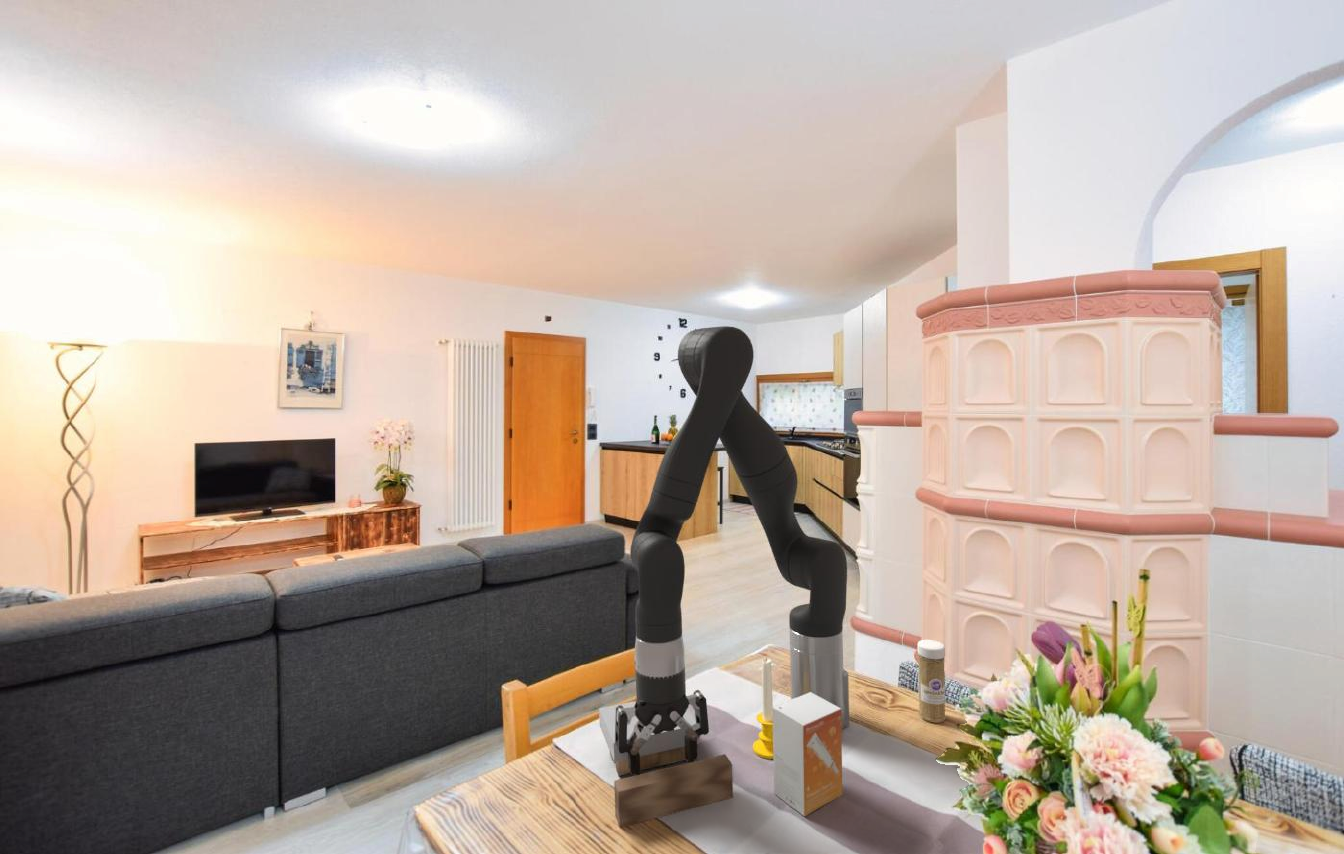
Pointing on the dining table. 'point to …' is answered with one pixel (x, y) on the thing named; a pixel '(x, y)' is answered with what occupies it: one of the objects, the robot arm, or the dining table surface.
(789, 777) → the small box
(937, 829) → the dining table surface
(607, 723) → the slab
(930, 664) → the sprinkles bottle
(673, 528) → the robot arm
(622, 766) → the roller
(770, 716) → the candle
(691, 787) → the rail
